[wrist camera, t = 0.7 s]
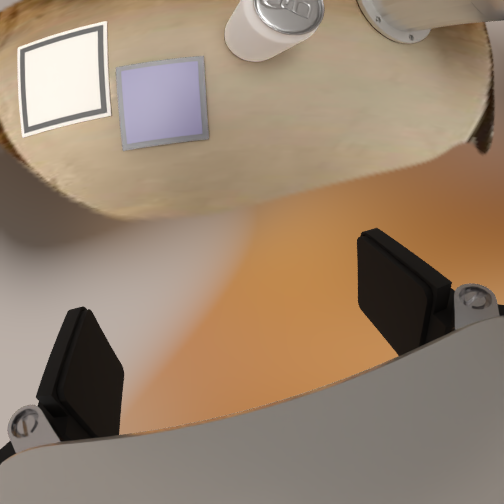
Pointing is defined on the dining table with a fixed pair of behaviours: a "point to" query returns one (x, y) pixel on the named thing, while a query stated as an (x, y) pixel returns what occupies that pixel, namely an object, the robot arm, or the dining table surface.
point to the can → (271, 26)
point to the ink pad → (162, 102)
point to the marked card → (64, 79)
